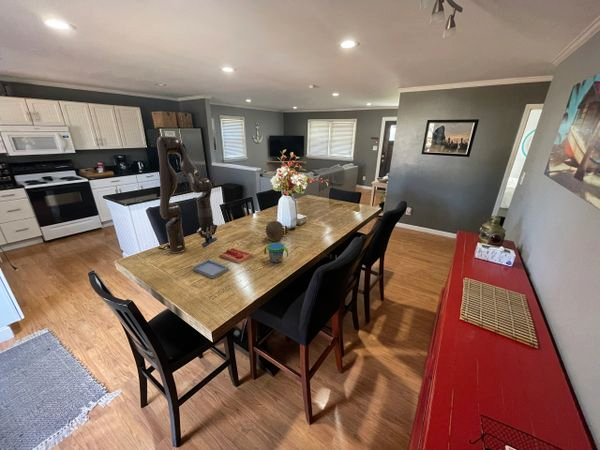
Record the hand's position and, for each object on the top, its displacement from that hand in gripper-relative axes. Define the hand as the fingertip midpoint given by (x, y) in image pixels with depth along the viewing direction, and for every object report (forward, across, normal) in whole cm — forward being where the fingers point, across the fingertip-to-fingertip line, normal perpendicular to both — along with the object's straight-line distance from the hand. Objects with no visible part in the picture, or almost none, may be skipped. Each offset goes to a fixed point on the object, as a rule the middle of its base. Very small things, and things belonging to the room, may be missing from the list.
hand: (209, 242), depth 140 cm
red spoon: (+15, -16, +3) cm, 22 cm away
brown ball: (+15, -51, +9) cm, 54 cm away
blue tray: (+15, +4, +3) cm, 16 cm away
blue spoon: (0, 0, +1) cm, 1 cm away
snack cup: (+15, -26, +29) cm, 42 cm away
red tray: (+15, -16, +4) cm, 22 cm away
